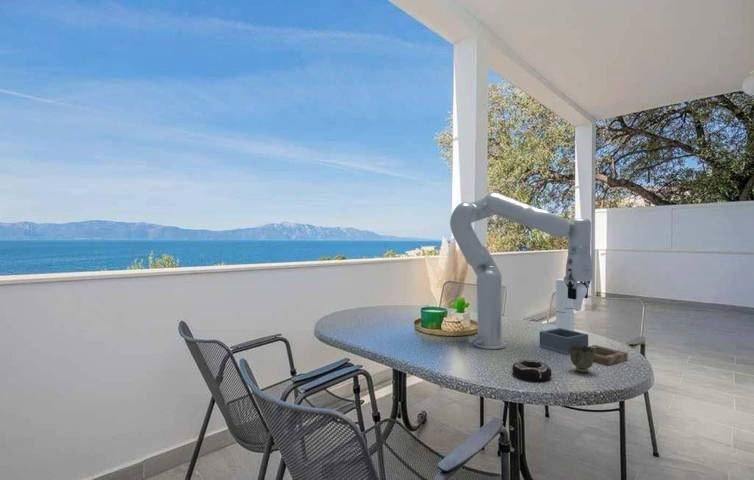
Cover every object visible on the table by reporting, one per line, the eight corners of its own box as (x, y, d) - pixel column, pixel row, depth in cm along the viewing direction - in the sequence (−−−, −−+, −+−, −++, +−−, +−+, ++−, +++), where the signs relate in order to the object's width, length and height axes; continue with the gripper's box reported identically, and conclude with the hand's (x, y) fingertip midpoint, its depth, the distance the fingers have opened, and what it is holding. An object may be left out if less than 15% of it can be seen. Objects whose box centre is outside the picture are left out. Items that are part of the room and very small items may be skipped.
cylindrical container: (575, 337, 170) (575, 280, 170) (558, 337, 172) (558, 280, 171) (571, 333, 177) (571, 278, 177) (554, 333, 179) (554, 278, 178)
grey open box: (568, 354, 147) (568, 338, 147) (539, 346, 157) (539, 331, 157) (588, 349, 153) (588, 334, 153) (559, 342, 164) (559, 327, 164)
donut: (511, 380, 122) (511, 367, 122) (513, 368, 133) (513, 356, 133) (551, 385, 118) (551, 372, 118) (551, 372, 128) (551, 360, 128)
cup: (564, 368, 132) (564, 344, 132) (585, 367, 132) (585, 344, 132) (578, 376, 124) (577, 351, 124) (600, 375, 125) (599, 350, 125)
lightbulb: (579, 313, 145) (580, 283, 145) (564, 310, 151) (565, 281, 150) (590, 312, 148) (590, 283, 148) (575, 309, 153) (576, 281, 153)
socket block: (608, 365, 134) (608, 358, 134) (575, 356, 144) (575, 349, 144) (627, 360, 140) (627, 353, 140) (594, 351, 150) (594, 345, 150)
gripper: (573, 251, 141) (571, 301, 142) (602, 251, 150) (601, 298, 150) (555, 250, 148) (553, 298, 149) (584, 250, 156) (582, 295, 157)
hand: (577, 297), depth 149 cm, fingers closed on lightbulb, 6 cm apart
